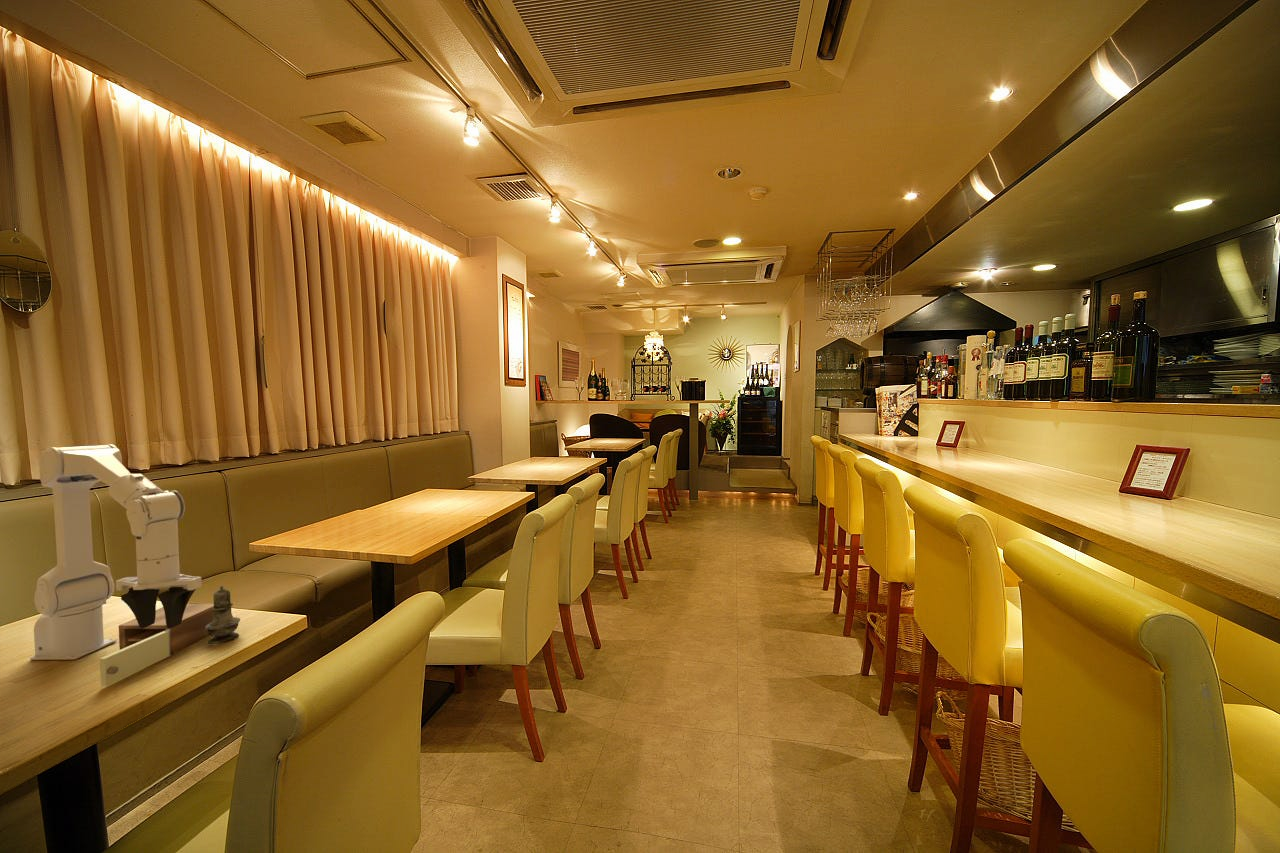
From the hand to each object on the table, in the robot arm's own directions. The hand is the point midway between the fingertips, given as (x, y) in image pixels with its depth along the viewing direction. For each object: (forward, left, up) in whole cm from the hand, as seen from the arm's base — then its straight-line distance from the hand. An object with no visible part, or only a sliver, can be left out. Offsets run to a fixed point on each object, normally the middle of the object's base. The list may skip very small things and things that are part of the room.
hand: (160, 625), depth 91 cm
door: (-5, +1, -9) cm, 11 cm away
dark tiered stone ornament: (-1, +14, -10) cm, 17 cm away
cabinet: (-11, +12, -9) cm, 19 cm away
